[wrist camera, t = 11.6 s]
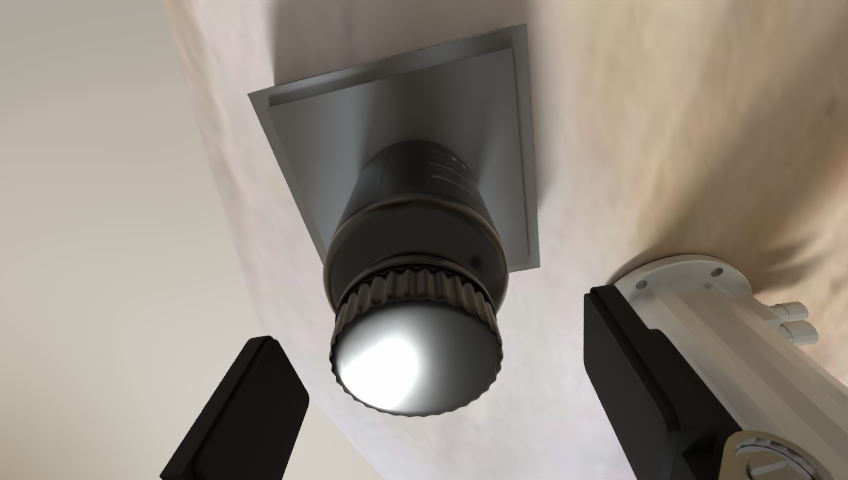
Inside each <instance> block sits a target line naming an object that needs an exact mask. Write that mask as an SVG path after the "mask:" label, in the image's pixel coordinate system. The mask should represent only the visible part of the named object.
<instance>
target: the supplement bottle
mask: <svg viewBox="0 0 848 480" xmlns="http://www.w3.org/2000/svg"><path fill="white" fill-rule="evenodd" d="M508 281H509V267H508V260H507V257H506V253H505V250H504V247H503V244H502V242H501V239H500V237H499V234H498V232H497V230H496V228H495V225H494V223H493V221H492V218H491V216H490V214H489V212H488V209H487V207H486V205H485V203H484V200H483V198H482V196H481V193H480V191H479V189H478V187H477V184H476V182H475V180H474V178H473V176H472V174H471V172H470V170H469V169H468V167H467V166H466V164H465V163H464V162H463V161H462V159H461V158H460V157H459V156H457V155H456V154H455V153H454V152H453V151H451V150H450V149H448V148H446V147H444V146H442V145H440V144H437V143H434V142H430V141H425V140H407V141H401V142H397V143H395V144H392V145H390V146H388V147H385V148H384V149H382V150H381V151H379V152H378V153H377V154H375V155H374V156H373V157H372V158H371V159H370V160H369V162H368V163H367V164H366V165H365V167H364V168H363V170H362V172H361V174H360V176H359V178H358V180H357V182H356V184H355V186H354V189H353V191H352V193H351V196H350V198H349V200H348V202H347V205H346V207H345V209H344V212H343V214H342V216H341V219H340V221H339V223H338V225H337V228H336V230H335V232H334V235H333V237H332V239H331V242H330V244H329V247H328V250H327V253H326V257H325V260H324V267H323V282H324V289H325V293H326V296H327V299H328V302H329V304H330V306H331V308H332V310H333V312H334V314H335V315H336V317H335V328H334V332H333V335H332V339H331V350H330V354H329V360H330V362H331V364H332V367H331V371H332V372H333V374H334V375H335V376H336V381H337V383H338V384H340V385H341V386H342V387H343V390H344V392H346V393H348V394H349V395H351V396H352V397H353V399H354V400H356V401H358V402H361V403H363V404H364V405H365V406H366V407H369V408H373V409H376V410H377V411H379V412H383V413H389V414H392V415H394V416H397V415H403V416H407V417H414V416H421V417H426V416H429V415H440V414H443V413H445V412H452V411H455V410H456V409H458V408H460V407H464V406H467V405H468V404H469V403H470V402H471V401H474V400H476V399H478V398H479V397H480V395H481V394H482V393H484V392H486V391H488V389H489V386H490V385H491V384H492V383H493V382H495V381H496V375H497V374H498V373H499V371H500V370H501V361H502V359H503V351H502V339H501V336H500V332H499V329H498V325H497V319H496V315H497V313H498V311H499V310H500V308H501V306H502V304H503V301H504V298H505V295H506V292H507V287H508Z"/></svg>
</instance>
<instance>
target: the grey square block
mask: <svg viewBox="0 0 848 480" xmlns="http://www.w3.org/2000/svg"><path fill="white" fill-rule="evenodd" d="M248 96H249V99H250V101H251V103H252V105H253V108H254V110H255V112H256V114H257V117H258V119H259V121H260V123H261V126H262V128H263V130H264V132H265V135H266V137H267V139H268V141H269V144H270V146H271V148H272V150H273V153H274V155H275V157H276V159H277V162H278V164H279V166H280V168H281V171H282V173H283V175H284V177H285V180H286V182H287V184H288V187H289V189H290V191H291V193H292V196H293V198H294V200H295V202H296V205H297V207H298V209H299V211H300V214H301V216H302V218H303V220H304V223H305V225H306V227H307V229H308V232H309V234H310V236H311V238H312V241H313V243H314V245H315V247H316V250H317V252H318V254H319V256H320V259H321V261H322V263H323V265H324V260H325V257H326V253H327V250H328V247H329V244H330V242H331V239H332V237H333V235H334V232H335V230H336V228H337V225H338V223H339V221H340V219H341V216H342V214H343V212H344V209H345V207H346V205H347V202H348V200H349V198H350V196H351V193H352V191H353V189H354V186H355V184H356V182H357V180H358V178H359V176H360V174H361V172H362V170H363V168H364V167H365V165H366V164H367V163H368V162H369V160H370V159H371V158H372V157H373V156H374V155H375V154H377V153H378V152H379V151H381V150H382V149H384V148H385V147H388V146H390V145H392V144H395V143H397V142H401V141H407V140H425V141H430V142H434V143H437V144H440V145H442V146H444V147H446V148H448V149H450V150H451V151H453V152H454V153H455V154H456V155H457V156H459V157H460V158H461V159H462V161H463V162H464V163H465V164H466V166H467V167H468V169H469V170H470V172H471V174H472V176H473V178H474V180H475V182H476V184H477V187H478V189H479V191H480V193H481V196H482V198H483V200H484V203H485V205H486V207H487V209H488V212H489V214H490V216H491V218H492V221H493V223H494V225H495V228H496V230H497V232H498V234H499V237H500V239H501V242H502V244H503V247H504V250H505V253H506V257H507V260H508V267H509V273H510V272H516V271H522V270H527V269H533V268H539V267H540V255H539V238H538V220H537V203H536V186H535V168H534V151H533V133H532V116H531V99H530V81H529V64H528V46H527V29H526V24H523V25H518V26H512V27H507V28H504V29H500V30H496V31H492V32H488V33H484V34H480V35H476V36H472V37H468V38H464V39H460V40H456V41H452V42H448V43H444V44H440V45H436V46H432V47H428V48H424V49H420V50H416V51H412V52H408V53H404V54H400V55H396V56H392V57H388V58H384V59H380V60H376V61H372V62H368V63H364V64H360V65H356V66H352V67H348V68H344V69H340V70H336V71H332V72H328V73H324V74H320V75H316V76H312V77H308V78H304V79H300V80H296V81H292V82H288V83H284V84H280V85H277V86H273V87H269V88H266V89H262V90H259V91H256V92H252V93H249V94H248Z"/></svg>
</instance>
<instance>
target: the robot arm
mask: <svg viewBox="0 0 848 480" xmlns="http://www.w3.org/2000/svg"><path fill="white" fill-rule="evenodd" d="M808 313H809V312H808V310H807V308H806V307H805V306H804V305H803V304H802V303H800V302H798V301H796V302H788V303H782V304H776V305H775V306H767V305H764V304H762V303H761V302H759V301H758V300H757V299H755V298H754V297H753V296H752V291H751V286H750V284H749V282H748V281H747V279H746V277H745V276H744V275H743V274H741V273H740V272H739V271H738V270H737V269H736V268H734V267H733V266H731V265H730V264H728V263H727V262H725V261H723V260H720V259H718V258H715V257H712V256H705V255H698V254H696V255H678V256H673V257H667V258H663V259H660V260H657V261H654V262H651V263H648V264H646V265H644V266H642V267H640V268H637V269H635V270H633V271H632V272H630V273H629V274H627V275H625V276H624V277H622V278H621V279H620V280H618V281H617V282H616V283H615V284H614V285H613V284H612V285H605V286H598V287H592V288H591V289H590V293H587V294H585V295H584V366H585V369H586V372H587V374H588V376H589V378H590V381H591V383H592V385H593V387H594V389H595V391H596V393H597V395H598V398H599V400H600V402H601V404H602V406H603V408H604V410H605V412H606V415H607V417H608V419H609V421H610V423H611V425H612V427H613V429H614V431H615V434H616V436H617V438H618V440H619V442H620V444H621V446H622V448H623V451H624V453H625V455H626V457H627V459H628V461H629V463H630V465H631V468H632V470H633V472H634V474H635V476H636V478H637V480H848V388H847V387H846V386H845V385H844V384H843V383H841V382H840V381H839V380H838V379H836V378H835V377H834V376H833V375H831V374H830V373H829V372H828V371H826V370H825V369H824V368H823V367H822V366H820V365H819V364H818V363H817V362H815V361H814V360H813V359H812V358H810V357H809V356H808V355H807V354H805V353H804V352H803V351H802V350H801V349H799V348H798V347H797V346H802V345H809V344H815V343H816V342H817V341H818V333H817V331H816V329H815V328H814V327H813V326H812V325H811V324H810V323H809V322H807V321H805V320H804V319H806V318H807V317H808ZM308 405H309V395H308V392H307V391H306V389H305V387H304V385H303V384H302V382H301V380H300V378H299V377H298V375H297V373H296V371H295V370H294V368H293V366H292V364H291V363H290V361H289V359H288V357H287V356H286V354H285V352H284V350H283V349H282V347H281V345H280V343H279V342H278V341H277V340H276V339H273V337H271V336H262V337H256V338H251V339H249V340H248V341H247V343H246V344H245V346H244V347H243V349H242V350H241V352H240V353H239V355H238V357H237V358H236V359H235V361H234V363H233V364H232V366H231V367H230V369H229V370H228V372H227V373H226V375H225V376H224V378H223V380H222V381H221V382H220V384H219V385H218V387H217V389H216V390H215V392H214V393H213V395H212V396H211V398H210V400H209V401H208V402H207V404H206V405H205V407H204V409H203V410H202V412H201V413H200V415H199V416H198V418H197V419H196V421H195V422H194V424H193V425H192V427H191V428H190V430H189V431H188V433H187V434H186V436H185V438H184V439H183V441H182V442H181V444H180V445H179V447H178V448H177V450H176V451H175V453H174V454H173V456H172V458H171V459H170V461H169V462H168V464H167V465H166V467H165V468H164V470H163V471H162V473H161V474H160V478H161V479H162V480H282V478H283V475H284V472H285V469H286V467H287V464H288V461H289V458H290V455H291V453H292V450H293V447H294V444H295V441H296V439H297V436H298V433H299V431H300V428H301V425H302V422H303V419H304V417H305V414H306V411H307V408H308Z"/></svg>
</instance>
